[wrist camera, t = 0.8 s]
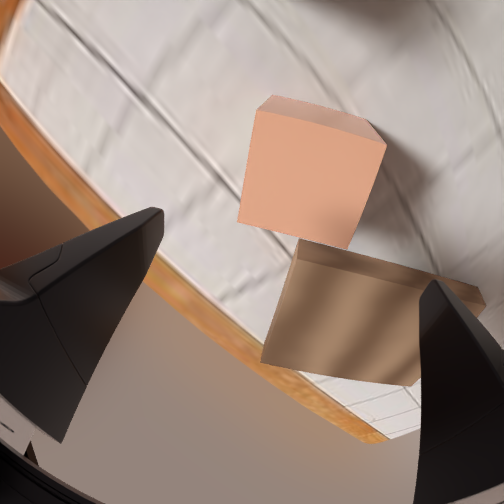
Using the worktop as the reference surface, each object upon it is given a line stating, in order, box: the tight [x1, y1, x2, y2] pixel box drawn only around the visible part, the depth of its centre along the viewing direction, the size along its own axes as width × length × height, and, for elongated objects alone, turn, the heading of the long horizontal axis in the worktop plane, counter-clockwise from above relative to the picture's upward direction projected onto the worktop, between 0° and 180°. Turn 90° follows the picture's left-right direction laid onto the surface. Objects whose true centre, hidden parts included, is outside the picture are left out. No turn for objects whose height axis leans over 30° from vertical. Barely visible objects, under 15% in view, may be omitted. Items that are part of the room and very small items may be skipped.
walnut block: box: [260, 239, 486, 386], centre depth 26 cm, size 18×14×3 cm
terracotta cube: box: [237, 95, 387, 249], centre depth 16 cm, size 6×6×6 cm
